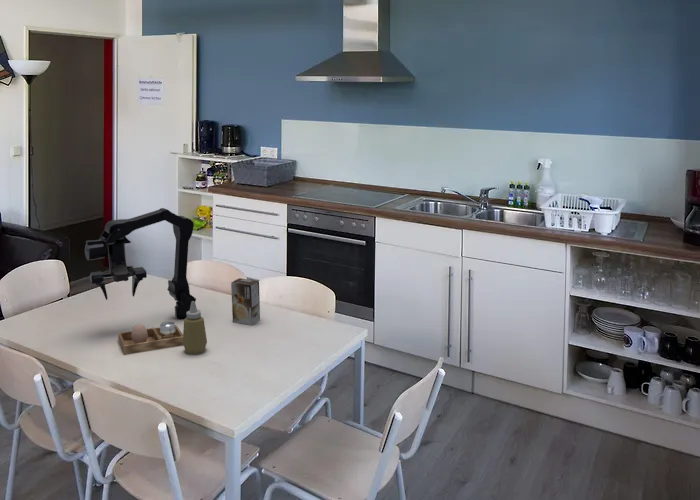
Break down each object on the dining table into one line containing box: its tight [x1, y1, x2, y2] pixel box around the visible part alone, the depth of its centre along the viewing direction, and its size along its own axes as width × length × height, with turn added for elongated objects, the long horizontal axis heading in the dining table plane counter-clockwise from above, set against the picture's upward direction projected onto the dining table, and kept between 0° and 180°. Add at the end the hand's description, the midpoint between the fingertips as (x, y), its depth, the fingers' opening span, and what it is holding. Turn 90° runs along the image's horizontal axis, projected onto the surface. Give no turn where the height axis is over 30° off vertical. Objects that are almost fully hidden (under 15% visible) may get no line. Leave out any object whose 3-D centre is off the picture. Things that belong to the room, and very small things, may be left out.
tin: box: [159, 321, 176, 340], centre depth 229 cm, size 5×5×6 cm
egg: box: [131, 323, 148, 343], centre depth 224 cm, size 5×5×7 cm
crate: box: [117, 324, 184, 356], centre depth 227 cm, size 20×13×4 cm, turn 117°
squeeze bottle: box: [182, 301, 208, 355], centre depth 219 cm, size 8×8×18 cm
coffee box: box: [230, 277, 261, 326], centre depth 248 cm, size 9×6×16 cm
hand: (120, 297), depth 236 cm, fingers open, 9 cm apart
